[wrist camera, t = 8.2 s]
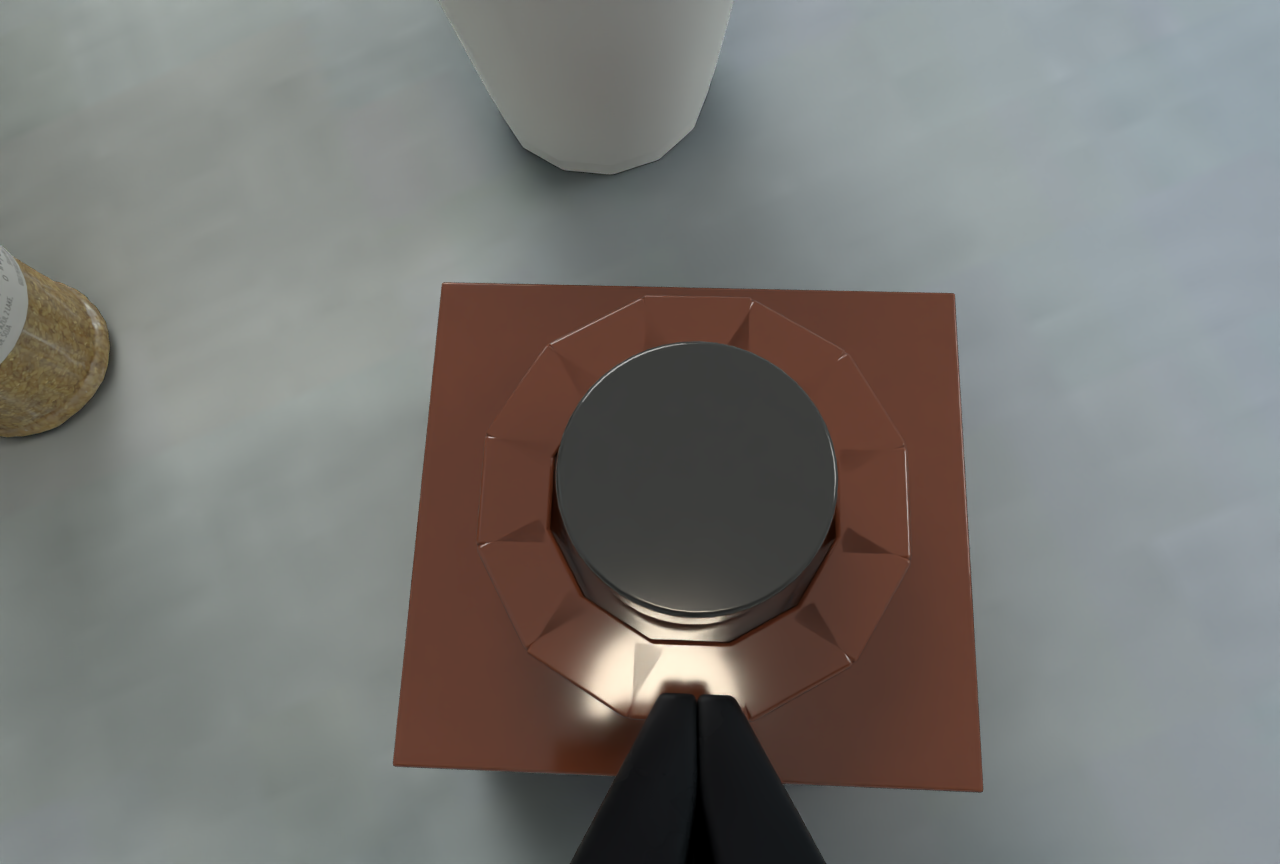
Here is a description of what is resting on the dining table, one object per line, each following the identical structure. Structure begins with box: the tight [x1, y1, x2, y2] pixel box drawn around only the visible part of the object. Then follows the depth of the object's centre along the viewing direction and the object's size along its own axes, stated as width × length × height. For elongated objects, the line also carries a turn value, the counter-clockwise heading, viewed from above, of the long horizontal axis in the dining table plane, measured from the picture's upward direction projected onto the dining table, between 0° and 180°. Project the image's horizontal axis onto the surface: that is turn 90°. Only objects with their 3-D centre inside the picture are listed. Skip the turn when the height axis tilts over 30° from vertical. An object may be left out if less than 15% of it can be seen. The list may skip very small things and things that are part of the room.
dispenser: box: [393, 282, 983, 793], centre depth 18 cm, size 9×10×8 cm
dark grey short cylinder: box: [555, 341, 839, 624], centre depth 13 cm, size 4×4×2 cm
